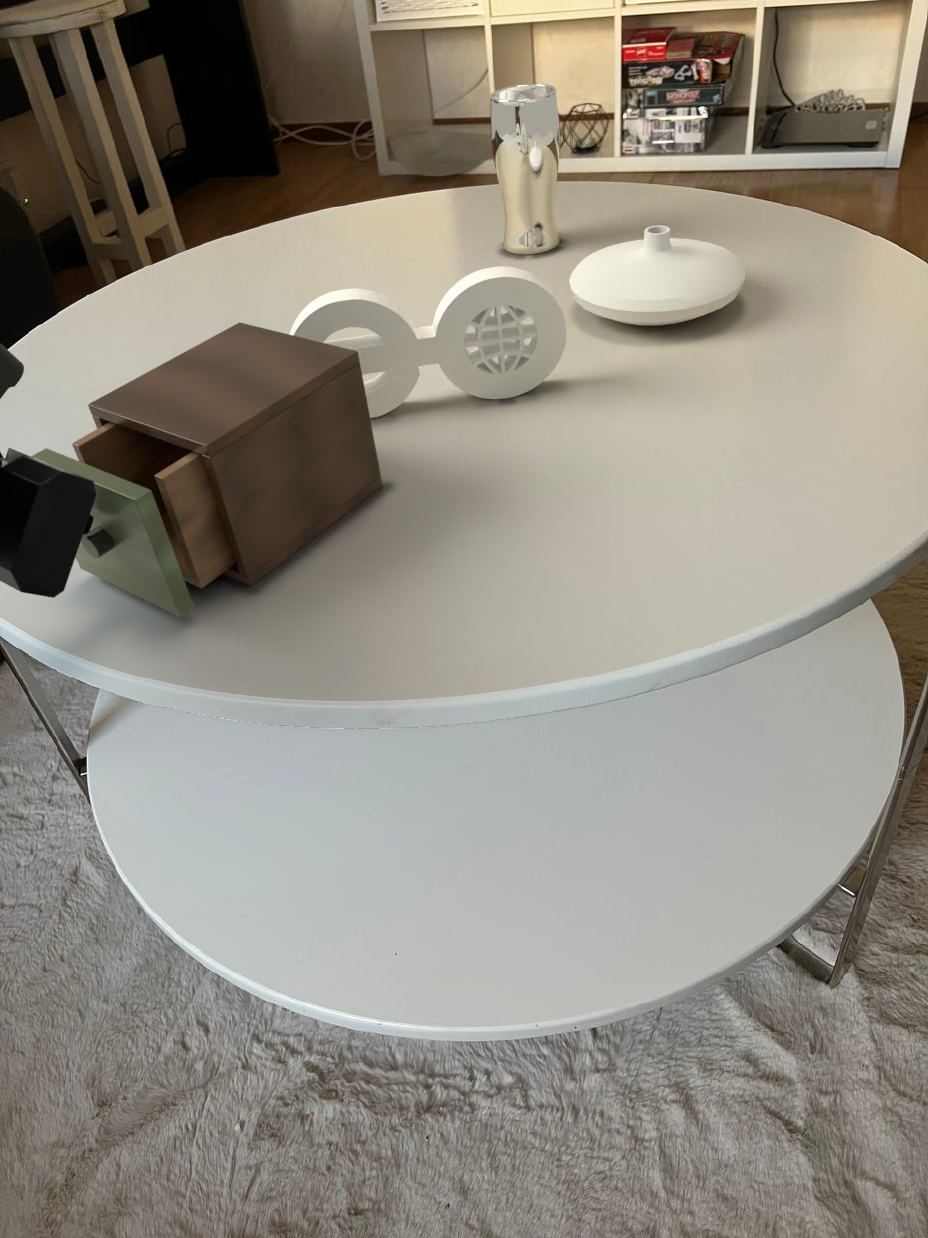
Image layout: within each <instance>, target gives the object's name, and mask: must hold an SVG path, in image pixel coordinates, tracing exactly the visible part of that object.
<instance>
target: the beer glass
mask: <svg viewBox="0 0 928 1238" xmlns="http://www.w3.org/2000/svg"><path fill="white" fill-rule="evenodd" d="M489 98H490V115H489V116H490V142H491V150H492V151H491V152H492V159H493V163H494V169H495V173H496V177H497V182H498V185H499V190H500V193H501V198H502V202H503V208H504V217H505V225H504V235H503V248H504V250H505V251H507V252H508V253H511V254H514V255H524V256H525V255H527V256H528V255H537V254H538V255H539V254H542V253H546V252H549V251H551V250H553V249H555V248H556V247H558V246H559V244H560V235H559V231H558V226H557V222H556V215H555V213H556V212H555V199H556V190H557V189H556V188H557V181H558V174H559V164H560V154H561V153H560V152H561V131H560V117H559V107H558V100H557V88H556V87H555V86H553V85H550V84H547V83H546V84H544V83H525V84H517V85H511V86H506V87H503V88H502V87H501V88H499V89H496V90H494V91H492V92H491V94H490V95H489Z"/></svg>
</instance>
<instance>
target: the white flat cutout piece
mask: <svg viewBox="0 0 928 1238" xmlns="http://www.w3.org/2000/svg"><path fill="white" fill-rule="evenodd" d="M501 307H502V309H504V310H505V311H503V312H501V310H502V309H501ZM492 311H493V312H492ZM491 313H493V314H491ZM529 317H530V318H531V320H532V321H530V322H524V323H521V322H523V321H525V320H526V319H528V318H529ZM470 326H471V327H474V330H470V331H468V327H470ZM348 328H360V329H366V330H369V331H371V332H373V334H372V333H371V334H365V335H359V336H351V337H345V338H338V339H332V340H327V339H328V338H329V337H330V336H331V335H332V334H334V333H336V332H338V331H341V330H344V329H348ZM289 335H293V336H297V337H301V338H305V339H309V340H314V341H318V342H322V343H326V344H330V345H334V346H338V347H342V348H346V349H350V350H354V351H358V355H359V360H360V362H359V363H360V366H361V371H362V376H363V375H369V374H376V373H379V374H378V375H377V376H376V377H374V378H372V379H370V380H367V381H363V382H364V388H365V393H366V398H367V404H368V409H369V415H370V419H373V418H374V419H375V418H378V417H381V416H384V415H386V414H388V413H389V412H391V411H393V410H395V409H396V408H397V407H400V405H401V404H403V402H404V401H405V400H406V399H408V397H409V396H410V395H411V393H412V391H413V390H414V388H415V387H416V385H417V382H418V381H419V378H420V376H421V372H420V368H419V367H422V366H430V365H436V364H438V365H439V367H440V369H441V371H442V373H443V374H444V375H445V376H446V378H447V379H448V380H449V382H450V383H452V384H453V385H454V386H455V387H456V388H458V389H459V390H460V391H463V392H465V393H466V394H468V395H471V396H474V397H477V398H480V399H488V400H503V399H510V398H515V397H518V396H520V395H523V394H525V393H528V392H530V391H532V390H533V389H535V388H536V387H538V386H539V385H541V384H542V383H543V382H544V381H545V380H546V379H547V378H548V377H549V376H550V375H551V374H552V373H553V371H554V370H555V369H556V368H557V366H558V364H559V362H560V360H561V359H562V356H563V354H564V351H565V348H566V343H567V325H566V319H565V315H564V312H563V310H562V308H561V306H560V304H559V302H558V300H557V298H556V296H555V294H554V293H553V291H552V290H551V288H550V287H549V286H548V284H546V283H545V282H544V281H543V280H541V279H540V278H539V277H537V275H534V274H533V273H531V272H530V271H527V270H524V269H522V268H517V267H512V266H504V265H500V266H492V267H491V266H490V267H486V268H482V269H478V270H476V271H473V272H471V273H470V274H468V275H466V276H464V277H462V278H461V279H460V280H458V281H457V282H456V283H455V284H454V285H453V286H451V287H450V288H449V290H448V291H447V292H446V293H445V294H444V296H443V298H442V299H441V301H440V302H439V304H438V306H437V309H436V310H435V314H434V317H433V321H432V325H427V326H420V327H416V326H415V324H414V322H413V320H412V319H411V317H410V316H409V314H408V313H407V312H406V311H405V310H404V309H403V308H402V307H401V306H400V305H399V304H398V303H397V302H395V301H394V300H392V299H391V298H389V297H387V296H386V295H383V294H381V293H379V292H377V291H374V290H370V289H365V288H358V287H357V288H344V289H337V290H333V291H332V290H331V291H330V292H326V293H324V294H323V295H321V296H320V295H319V297H317V298H315V299H314V300H312V301H311V302H310V303H308V304H307V305H306V306H305V307H304V308H303V309H302V311H300V312H299V314H298V316H297V317H296V318H295V321H294V322H293V325H292V326H291V329H290V331H289ZM527 339H529V341H528V343H525V340H527ZM472 347H476V348H474V349H473V350H471V351H469V350H468V349H467V348H472ZM495 358H497V361H496V360H495Z"/></svg>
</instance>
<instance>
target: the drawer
mask: <svg viewBox="0 0 928 1238" xmlns="http://www.w3.org/2000/svg"><path fill="white" fill-rule="evenodd" d="M71 445H72V448H73V450H74V452H75V455H76V457H77V459H74V458H72V457H69V456H67V455H64V454H62V453H59V452H57V451H54V450H52V449H49V448H46V447H45V448H44V449H42V450H40V451H38V452H37V453H35V454H33V455H31V456H30V457H33V458H34V459H36V460H39V461H42V462H45V463H48V464H51V465H54V466H57V467H60V468H62V469H65V470H67V471H70V472H72V473H75V474H77V475H80V476H82V477H84V478H87V479H89V480H92V481H94V486H95V490H96V494H97V495H96V498H95V501H94V504H93V507H92V510H91V513H90V515H92V516H93V523H92V526H91V529H90V531H89V533H87V534H84V535H83V536H82V539H81V542H80V545H79V548H78V551H77V554H76V557H75V560H76V561H77V563H78V566H79V568H80V569H81V570H83V571H85V572H87V573H89V574H91V575H93V576H95V577H97V578H98V579H101V580H103V581H105V582H107V583H109V584H111V585H113V586H115V587H117V588H119V589H121V590H123V591H125V592H128V593H130V594H131V595H132V596H133V595H134V596H135V597H138V598H139V599H142V600H144V601H146V602H148V603H150V604H152V605H154V606H155V607H158V608H160V609H162V610H164V611H166V612H168V613H170V614H172V615H174V616H176V617H178V618H182V617H183V616H185V615H187V613H189V612H190V611H192V610H193V609H194V608H195V605H194V603H193V600H192V596H191V594H190V592H189V588H188V586H187V584H186V582H187V583H190V584H191V585H193V586H196V587H197V588H199V589H203V588H204V587H206V586H207V585H209V584H210V583H211V582H212V581H214V580H216V578H218V577H219V576H221V575H223V574H222V573H223V572H225V571H226V570H227V569H229V568H230V567H232V566H233V565H234V564H236V560H235V557H234V554H233V551H232V548H231V544H230V541H229V538H228V535H227V532H226V529H225V526H224V522H223V519H222V516H221V513H220V510H219V507H218V504H217V500H216V497H215V494H214V491H213V488H212V485H211V482H210V478H209V475H208V472H207V469H206V466H205V463H204V460H203V456H202V455H203V454H200V453H197V452H194V451H191V450H189V449H186V448H183V447H180V446H177V445H175V444H172V443H169V442H166V441H163V440H161V439H158V438H155V437H152V436H149V435H147V434H144V433H141V432H138V431H135V430H132V429H130V428H127V427H124V426H121V425H118V424H116V423H113V422H109V423H107V424H105V425H104V426H102V427H100V428H98V429H97V428H96V429H94V430H93V431H91V432H90V433H88V434H86V435H84V436H82V437H80V438H79V439H77V440H75V441H73V442H72V443H71Z"/></svg>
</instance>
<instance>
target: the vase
mask: <svg viewBox="0 0 928 1238" xmlns="http://www.w3.org/2000/svg"><path fill="white" fill-rule="evenodd" d="M643 233H644V235H643V239H636V240H635V239H634V240H630V241H625V242H621V243H616V244H612V245H609V246H607V247H604V248H601V249H598V250H596V251H594V252H593V253H591V254H589V255H587V256H585V257H584V258H583V259H582V260H581V261H580V262H579V263H578V264H577V265H576V267H575V268H574V269H573V271H572V272H571V275H570V277H569V280H568V283H569V287H570V289H571V293H572V295H573V297H574V300H575V302H576V303H577V304H578V305H579V306H580V307H581V308H582V309H583V310H586V311H588V312H590V313H592V314H594V315H596V316H598V317H602V318H605V319H608V320H611V321H615V322H619V323H623V324H627V325H633V326H634V325H635V326H665V325H675V324H679V323H683V322H687V321H691V320H694V319H697V318H699V317H703V316H705V315H707V314H710V313H712V312H715V311H718V310H720V309H722V308H724V307H725V306H728V304H730V303H731V302H733V301H734V300H736V298H737V296H738V295H739V293H740V292H741V289H742V287H743V285H744V283H745V280H746V268H745V267H744V266H743V263H741V261H740V260H739V258H738V257H737V256H736V255H735V254H734V253H733V252H731V251H730V250H728V249H727V248H725V247H723V246H720V245H717V244H715V243H711V242H708V241H702V240H697V239H693V238H692V239H691V238H679V237H678V238H677V237H671V228H670V227H669V226H666V225H652V226H648V227H646V228H645V229H644V231H643Z"/></svg>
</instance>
